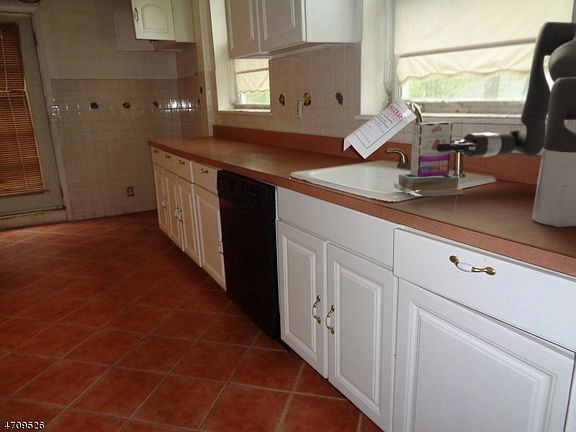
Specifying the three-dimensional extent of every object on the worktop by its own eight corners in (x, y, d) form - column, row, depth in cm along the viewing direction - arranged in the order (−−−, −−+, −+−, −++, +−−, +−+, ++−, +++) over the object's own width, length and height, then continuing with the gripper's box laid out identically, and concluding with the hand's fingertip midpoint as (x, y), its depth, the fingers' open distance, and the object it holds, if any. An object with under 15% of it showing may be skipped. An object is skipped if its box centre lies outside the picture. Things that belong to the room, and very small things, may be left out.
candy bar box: (439, 172, 139) (444, 121, 134) (449, 175, 134) (454, 122, 130) (409, 174, 136) (412, 122, 131) (417, 177, 131) (421, 123, 127)
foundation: (462, 194, 132) (464, 178, 130) (414, 196, 128) (416, 181, 127) (437, 185, 145) (439, 171, 143) (394, 187, 141) (395, 173, 140)
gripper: (469, 131, 142) (422, 132, 138) (498, 134, 128) (447, 136, 125) (466, 153, 144) (420, 155, 141) (495, 159, 130) (445, 162, 127)
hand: (433, 146), depth 133 cm, fingers closed on candy bar box, 5 cm apart
